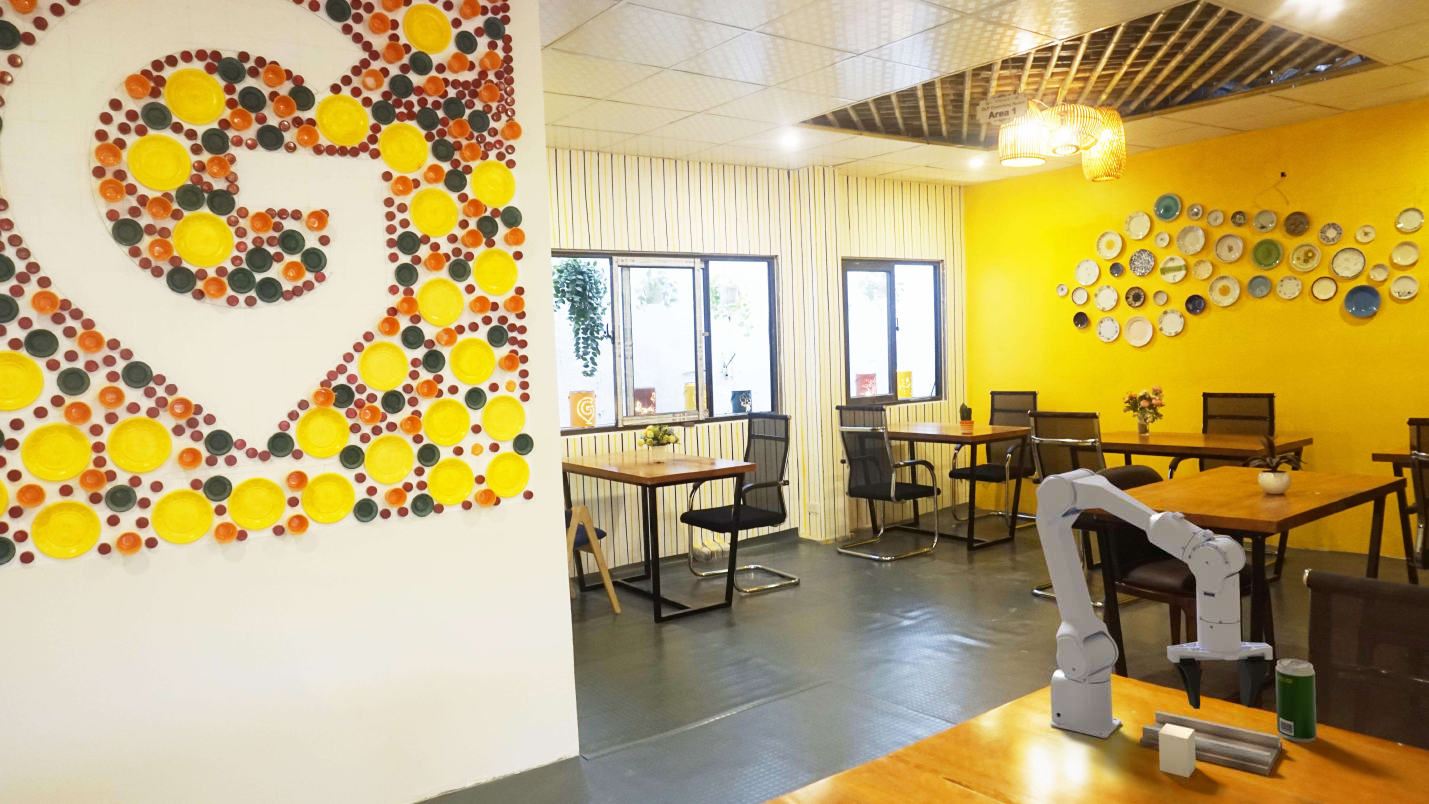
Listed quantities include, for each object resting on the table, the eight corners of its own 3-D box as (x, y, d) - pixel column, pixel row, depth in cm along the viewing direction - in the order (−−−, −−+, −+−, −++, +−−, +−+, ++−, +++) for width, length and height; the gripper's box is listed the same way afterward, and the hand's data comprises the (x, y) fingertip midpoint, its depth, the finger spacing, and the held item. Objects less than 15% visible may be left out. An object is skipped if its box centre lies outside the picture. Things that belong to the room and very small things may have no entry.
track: (1139, 745, 145) (1139, 730, 145) (1160, 721, 153) (1159, 707, 153) (1267, 775, 133) (1267, 758, 133) (1282, 748, 141) (1281, 732, 141)
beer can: (1307, 746, 141) (1305, 672, 141) (1271, 735, 146) (1268, 663, 145) (1322, 736, 144) (1321, 664, 144) (1286, 726, 149) (1284, 655, 148)
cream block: (1160, 770, 137) (1158, 732, 136) (1167, 760, 140) (1166, 723, 139) (1188, 777, 134) (1187, 738, 134) (1195, 767, 137) (1194, 729, 137)
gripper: (1180, 628, 131) (1183, 717, 132) (1283, 624, 130) (1285, 715, 131) (1160, 613, 138) (1162, 698, 139) (1257, 610, 137) (1259, 696, 138)
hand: (1220, 705), depth 135 cm, fingers open, 7 cm apart
